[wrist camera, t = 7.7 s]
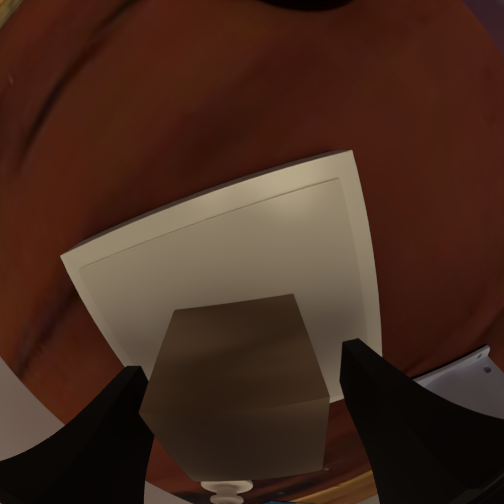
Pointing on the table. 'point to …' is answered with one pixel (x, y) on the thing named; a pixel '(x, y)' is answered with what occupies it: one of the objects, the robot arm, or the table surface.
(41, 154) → the table surface
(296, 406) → the block
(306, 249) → the plate
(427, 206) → the table surface
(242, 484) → the candle
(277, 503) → the ink box
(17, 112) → the table surface
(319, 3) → the supplement bottle
